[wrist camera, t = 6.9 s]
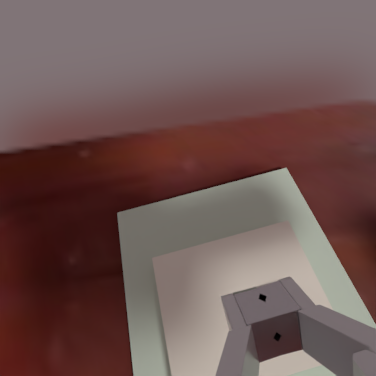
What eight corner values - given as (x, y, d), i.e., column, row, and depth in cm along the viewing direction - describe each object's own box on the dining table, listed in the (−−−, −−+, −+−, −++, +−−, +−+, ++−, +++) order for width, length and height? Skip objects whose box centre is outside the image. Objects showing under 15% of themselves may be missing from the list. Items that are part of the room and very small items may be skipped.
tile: (177, 409, 12) (152, 257, 16) (179, 400, 13) (155, 261, 17) (355, 354, 12) (288, 220, 16) (344, 351, 13) (283, 225, 17)
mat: (151, 523, 11) (149, 532, 11) (119, 214, 19) (117, 212, 19) (431, 433, 12) (440, 437, 11) (284, 170, 20) (286, 167, 19)
